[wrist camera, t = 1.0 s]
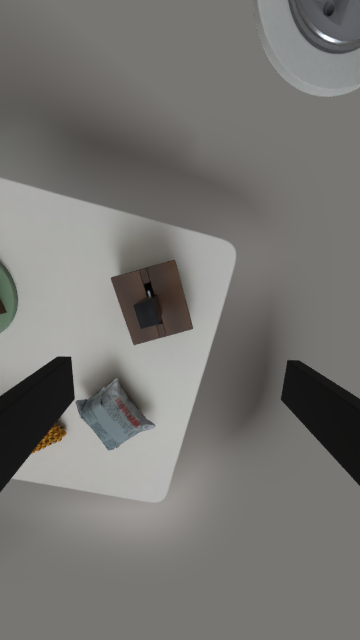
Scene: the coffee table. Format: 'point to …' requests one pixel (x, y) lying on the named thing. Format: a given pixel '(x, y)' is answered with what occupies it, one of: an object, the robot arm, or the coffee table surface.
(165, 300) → the knife block
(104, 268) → the coffee table surface
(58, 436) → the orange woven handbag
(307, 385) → the robot arm
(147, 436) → the coffee table surface
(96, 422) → the packaged food
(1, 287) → the green disc stand
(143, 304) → the knife
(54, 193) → the coffee table surface
